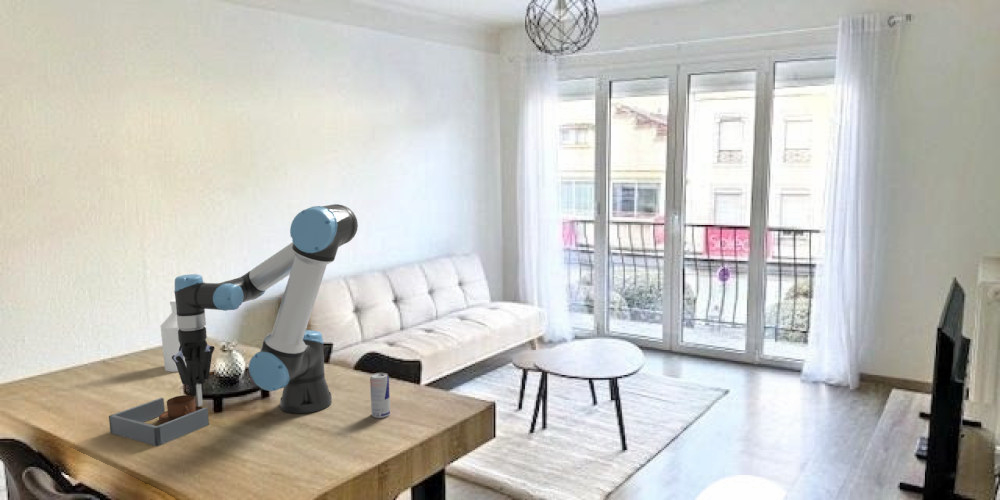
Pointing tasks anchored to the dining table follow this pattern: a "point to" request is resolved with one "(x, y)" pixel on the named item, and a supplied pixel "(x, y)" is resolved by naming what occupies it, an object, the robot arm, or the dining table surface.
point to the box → (134, 428)
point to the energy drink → (380, 395)
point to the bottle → (170, 339)
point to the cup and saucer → (179, 408)
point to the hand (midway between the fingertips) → (197, 404)
